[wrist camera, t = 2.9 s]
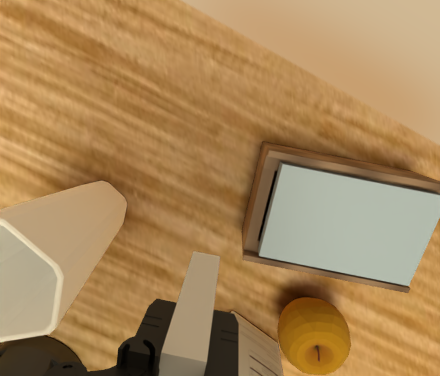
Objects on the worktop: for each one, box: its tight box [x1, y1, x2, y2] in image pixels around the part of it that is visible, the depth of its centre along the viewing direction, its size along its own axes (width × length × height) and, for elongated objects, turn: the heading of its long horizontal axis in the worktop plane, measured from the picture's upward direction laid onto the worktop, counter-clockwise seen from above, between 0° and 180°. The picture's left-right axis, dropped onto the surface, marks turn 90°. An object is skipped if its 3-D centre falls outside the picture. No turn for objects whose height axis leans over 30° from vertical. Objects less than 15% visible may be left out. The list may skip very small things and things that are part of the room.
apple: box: [278, 297, 351, 375], centre depth 35 cm, size 9×8×9 cm
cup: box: [0, 180, 127, 342], centre depth 29 cm, size 11×10×17 cm
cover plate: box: [258, 161, 440, 286], centre depth 28 cm, size 16×10×2 cm, turn 79°
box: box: [242, 142, 440, 293], centre depth 31 cm, size 18×12×7 cm, turn 79°
